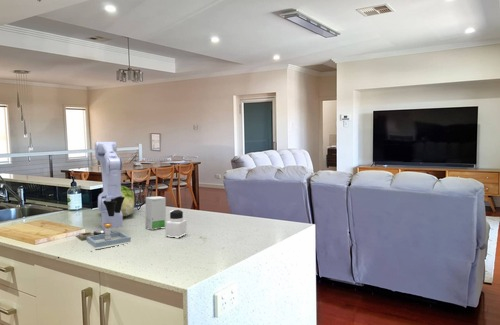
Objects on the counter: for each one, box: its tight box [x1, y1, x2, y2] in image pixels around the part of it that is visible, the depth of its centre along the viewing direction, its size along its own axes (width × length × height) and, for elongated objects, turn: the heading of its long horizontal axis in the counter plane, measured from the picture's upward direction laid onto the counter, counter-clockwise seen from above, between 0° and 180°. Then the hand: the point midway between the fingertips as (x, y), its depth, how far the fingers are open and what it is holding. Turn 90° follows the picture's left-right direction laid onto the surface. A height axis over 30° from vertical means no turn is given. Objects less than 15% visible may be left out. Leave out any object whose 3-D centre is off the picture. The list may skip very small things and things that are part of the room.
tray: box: [86, 231, 132, 251], centre depth 165 cm, size 15×12×3 cm
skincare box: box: [144, 195, 167, 230], centre depth 192 cm, size 8×7×16 cm
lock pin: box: [104, 223, 112, 241], centre depth 165 cm, size 3×3×8 cm
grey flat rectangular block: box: [75, 228, 105, 242], centre depth 173 cm, size 14×10×3 cm
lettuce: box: [121, 185, 136, 218], centre depth 218 cm, size 18×23×19 cm
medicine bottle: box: [165, 209, 187, 236], centre depth 179 cm, size 7×7×12 cm
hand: (114, 214), depth 175 cm, fingers open, 7 cm apart
